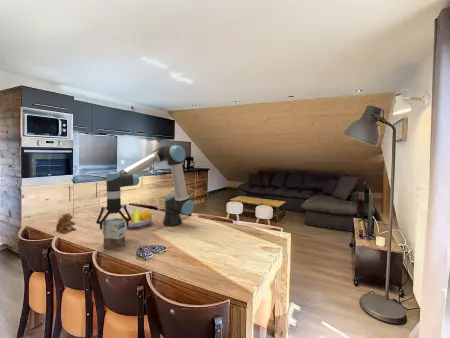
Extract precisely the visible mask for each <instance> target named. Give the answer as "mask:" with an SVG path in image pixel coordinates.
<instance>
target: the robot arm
mask: <svg viewBox="0 0 450 338" xmlns="http://www.w3.org/2000/svg"><path fill="white" fill-rule="evenodd" d="M185 158H186V150H185V149H184V147H182V146H180V145H176V144H175V145H174V144H173V145H172V144H171V145H170V144H169V145H162V146H160V147H158V148H156V149H154V150H153V151H151V152H150V154H148V155H146V156H144V157H143V158H141V159H139V160H138V161H136V162H134V163H133V164H131V165H129V166H127V167H126V168H125V167H124V169H122V170H119V171H109V172H106V177H105V182H106V206H101V207H100V212H99V214H98V217H97V220H96V225H97V224H98V225H99V230H101V234H102V236H104V224H103V222H104V220H106V219H108V216H110V215H112V214H117V213H118V214H119V215H120V217H121V216H122V217H123V218H124V219H125V220H126V221H125V233H127V231H128V230H127V228H128V227H127V226H128V221H129V220H131V217H130V215H129V213H130V212H129V211H128V207H127V205H126V204H124V205H122V204H121V202H122V201H121V200H122V198H121V188H123V187H126V188H127V187H134V186H138V185H139V183H140V177H139V175H138V174H140V173H142V172H143V171H145V170H147V169H148V168H150V167H152V166H153V165H155V164H160V163H162V162H167V165H168V166H169V167H170V170H171V171H170V172H171V176H172V181H173V187H174V192H175V194H174V195H167V196H165V198H164V199H165V200H164V217H163V220H162V225H163V226H165V227H178V226H180V225H182V224H183V220H182V217H181V215H183V216H188V215H191V214H192V213H193V211H194V209H195V202H194V201H193V200H192V199H191V197H190V195H189V194H188V191H187V185H186V180H185V173H184V169H183V164H184V160H185ZM121 209H122V210H124V212H125V213H126V214H127V216H128V218H127V217H126V216H125V215H124V214H125V213H123V212H122V211H121ZM106 210H107V212H106V213H105V214H104V212H105V211H106ZM103 214H104V216H103ZM102 216H103V217H102ZM101 218H102V219H101Z"/></svg>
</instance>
